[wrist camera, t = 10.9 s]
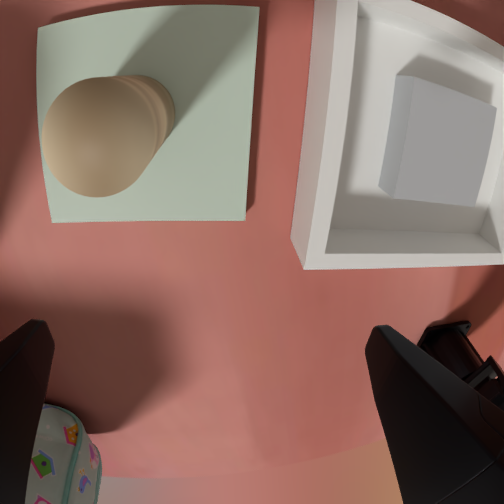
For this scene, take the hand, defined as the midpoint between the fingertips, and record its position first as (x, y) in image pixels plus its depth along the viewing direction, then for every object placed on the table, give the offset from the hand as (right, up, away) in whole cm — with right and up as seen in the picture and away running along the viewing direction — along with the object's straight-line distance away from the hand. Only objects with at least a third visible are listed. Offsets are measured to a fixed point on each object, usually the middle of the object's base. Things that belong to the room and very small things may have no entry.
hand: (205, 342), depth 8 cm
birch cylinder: (-5, +9, +7) cm, 12 cm away
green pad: (-5, +10, +8) cm, 13 cm away
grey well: (+12, +10, +10) cm, 19 cm away
